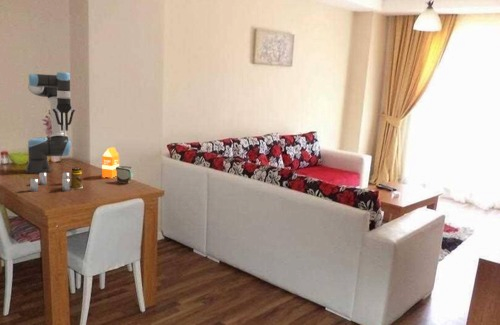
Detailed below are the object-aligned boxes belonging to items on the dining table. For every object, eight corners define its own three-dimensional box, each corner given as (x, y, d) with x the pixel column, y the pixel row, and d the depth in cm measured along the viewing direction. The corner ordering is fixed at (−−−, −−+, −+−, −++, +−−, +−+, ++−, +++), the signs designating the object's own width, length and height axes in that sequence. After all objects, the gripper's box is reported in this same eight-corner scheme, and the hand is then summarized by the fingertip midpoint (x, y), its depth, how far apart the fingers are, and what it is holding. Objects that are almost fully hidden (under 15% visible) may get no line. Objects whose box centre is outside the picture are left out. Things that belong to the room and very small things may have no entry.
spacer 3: (63, 183, 267) (62, 172, 266) (69, 183, 268) (69, 172, 267) (62, 184, 263) (61, 173, 262) (69, 184, 264) (68, 173, 263)
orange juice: (102, 177, 288) (101, 148, 285) (109, 174, 297) (109, 146, 293) (112, 178, 287) (112, 149, 283) (119, 175, 295) (119, 147, 292)
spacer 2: (40, 183, 263) (39, 172, 262) (47, 183, 264) (47, 172, 263) (39, 184, 260) (38, 173, 258) (46, 184, 261) (45, 173, 259)
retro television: (136, 182, 280) (136, 167, 278) (130, 184, 274) (130, 169, 272) (121, 179, 285) (121, 165, 283) (115, 181, 279) (115, 166, 277)
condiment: (83, 188, 258) (82, 169, 256) (67, 189, 254) (67, 169, 252) (82, 185, 264) (81, 166, 262) (67, 186, 260) (66, 167, 258)
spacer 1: (31, 189, 248) (30, 178, 246) (38, 189, 249) (38, 178, 248) (29, 191, 244) (29, 179, 243) (37, 191, 245) (37, 179, 244)
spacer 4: (62, 189, 252) (62, 178, 251) (70, 189, 254) (69, 178, 252) (61, 191, 249) (61, 179, 247) (69, 191, 250) (69, 179, 249)
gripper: (51, 97, 256) (52, 136, 260) (74, 98, 260) (75, 136, 264) (53, 97, 263) (54, 134, 267) (75, 98, 267) (76, 135, 271)
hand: (64, 135), depth 266 cm, fingers closed
